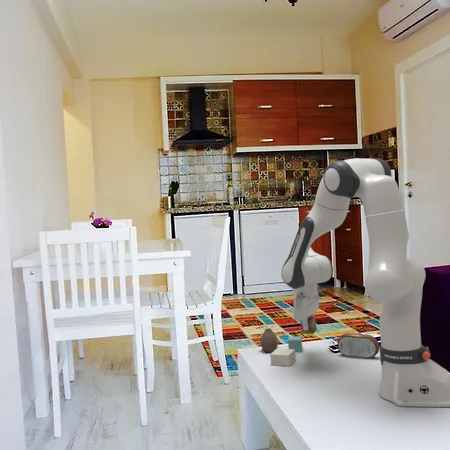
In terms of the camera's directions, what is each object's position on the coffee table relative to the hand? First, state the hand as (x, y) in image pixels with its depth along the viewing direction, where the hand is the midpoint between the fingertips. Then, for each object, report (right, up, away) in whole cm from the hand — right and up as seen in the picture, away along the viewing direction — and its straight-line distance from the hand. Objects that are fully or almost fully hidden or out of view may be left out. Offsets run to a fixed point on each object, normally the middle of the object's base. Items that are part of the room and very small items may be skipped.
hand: (308, 327), depth 187 cm
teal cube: (-3, -12, +12) cm, 17 cm away
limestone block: (-9, -13, -1) cm, 16 cm away
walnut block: (0, -2, 0) cm, 2 cm away
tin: (+18, -11, -2) cm, 21 cm away
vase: (-13, -12, +15) cm, 23 cm away
